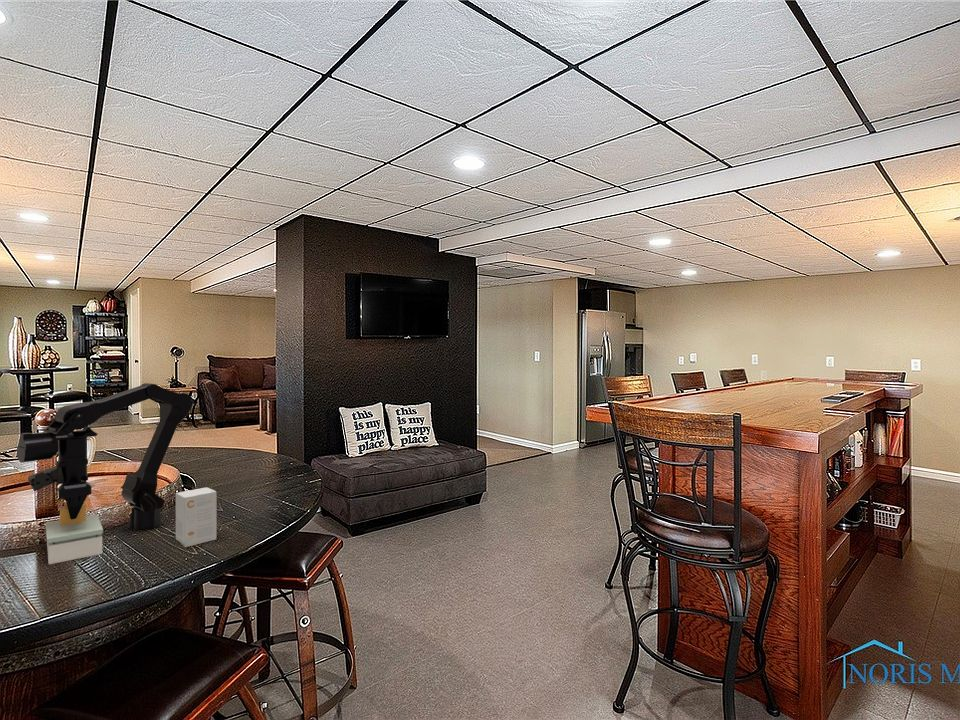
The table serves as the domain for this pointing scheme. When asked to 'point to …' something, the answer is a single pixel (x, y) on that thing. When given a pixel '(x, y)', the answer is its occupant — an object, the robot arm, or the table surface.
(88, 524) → the lid
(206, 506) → the small box
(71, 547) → the tub
